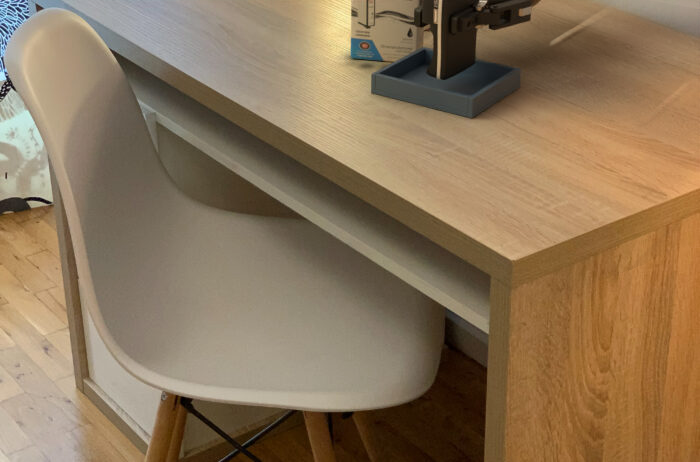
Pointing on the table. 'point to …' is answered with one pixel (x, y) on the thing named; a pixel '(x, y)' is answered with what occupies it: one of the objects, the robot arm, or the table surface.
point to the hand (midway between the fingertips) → (436, 22)
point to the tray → (446, 84)
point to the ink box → (384, 29)
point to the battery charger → (448, 38)
